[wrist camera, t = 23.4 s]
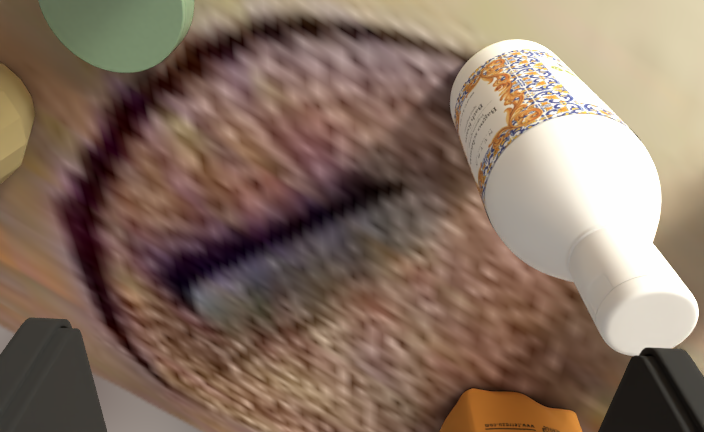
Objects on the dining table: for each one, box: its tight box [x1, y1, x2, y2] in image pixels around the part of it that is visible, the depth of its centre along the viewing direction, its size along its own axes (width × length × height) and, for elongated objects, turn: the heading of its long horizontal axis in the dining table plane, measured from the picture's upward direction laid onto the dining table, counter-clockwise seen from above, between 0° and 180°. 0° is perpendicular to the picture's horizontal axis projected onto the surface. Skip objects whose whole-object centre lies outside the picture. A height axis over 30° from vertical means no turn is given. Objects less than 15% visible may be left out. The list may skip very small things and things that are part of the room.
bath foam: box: [450, 40, 699, 356], centre depth 26 cm, size 7×7×20 cm
